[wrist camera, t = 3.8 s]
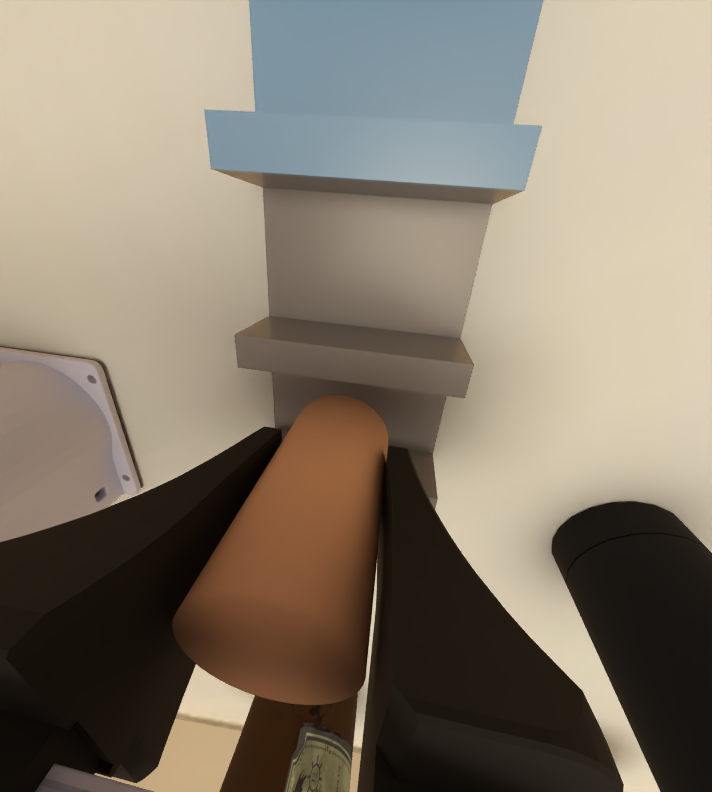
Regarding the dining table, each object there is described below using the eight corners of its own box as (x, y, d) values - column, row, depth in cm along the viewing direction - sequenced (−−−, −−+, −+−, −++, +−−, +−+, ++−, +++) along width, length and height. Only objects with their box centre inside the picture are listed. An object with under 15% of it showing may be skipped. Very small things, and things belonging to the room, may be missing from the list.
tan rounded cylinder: (382, 481, 12) (356, 720, 6) (295, 467, 13) (190, 680, 7) (394, 402, 11) (376, 622, 5) (294, 389, 11) (152, 575, 5)
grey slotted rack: (426, 464, 17) (430, 530, 13) (283, 441, 17) (248, 497, 14) (562, -128, 8) (706, -472, 4) (261, -120, 9) (146, -399, 5)
